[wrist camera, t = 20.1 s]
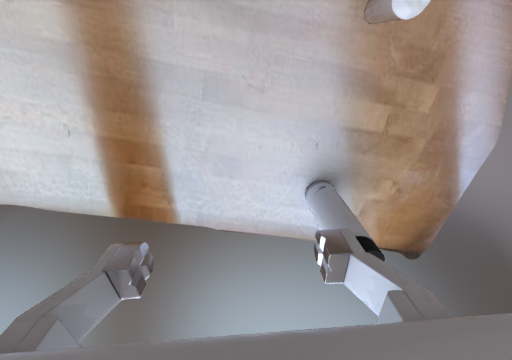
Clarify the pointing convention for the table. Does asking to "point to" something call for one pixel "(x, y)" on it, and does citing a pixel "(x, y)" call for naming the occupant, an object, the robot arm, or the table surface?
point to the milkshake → (393, 10)
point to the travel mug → (337, 214)
